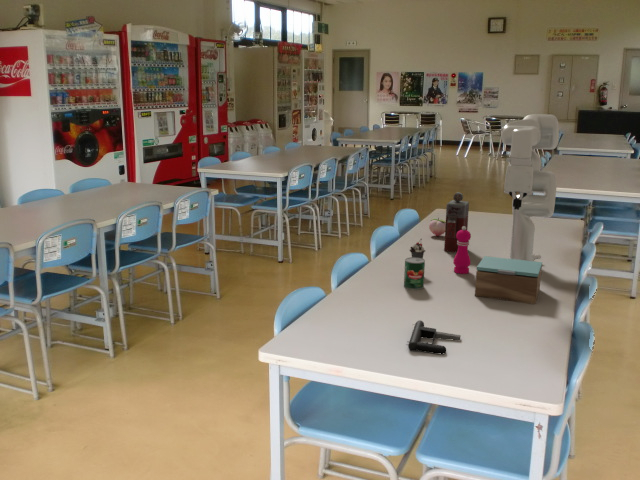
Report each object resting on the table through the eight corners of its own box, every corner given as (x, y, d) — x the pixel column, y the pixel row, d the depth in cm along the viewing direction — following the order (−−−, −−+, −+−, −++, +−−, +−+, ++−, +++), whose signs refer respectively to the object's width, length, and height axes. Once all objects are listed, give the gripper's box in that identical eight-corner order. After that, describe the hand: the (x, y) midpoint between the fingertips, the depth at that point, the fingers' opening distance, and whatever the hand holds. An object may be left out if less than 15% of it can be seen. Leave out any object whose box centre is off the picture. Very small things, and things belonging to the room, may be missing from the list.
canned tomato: (411, 290, 250) (412, 263, 247) (399, 285, 257) (400, 258, 254) (427, 287, 254) (429, 261, 251) (416, 282, 260) (417, 256, 258)
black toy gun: (462, 326, 209) (412, 318, 213) (458, 350, 190) (404, 341, 194) (460, 335, 210) (411, 327, 214) (457, 361, 191) (403, 351, 195)
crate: (482, 282, 260) (484, 259, 258) (539, 289, 252) (541, 265, 249) (474, 296, 244) (476, 271, 242) (535, 304, 236) (537, 278, 233)
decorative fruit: (449, 235, 338) (450, 217, 335) (443, 238, 331) (444, 219, 328) (432, 233, 342) (433, 215, 340) (426, 236, 336) (427, 217, 333)
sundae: (425, 271, 274) (427, 237, 271) (423, 276, 268) (424, 241, 264) (410, 270, 276) (411, 236, 273) (407, 274, 270) (408, 240, 267)
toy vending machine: (442, 252, 305) (445, 194, 298) (448, 246, 315) (451, 190, 308) (461, 254, 302) (465, 195, 295) (466, 248, 312) (469, 191, 305)
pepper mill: (470, 274, 270) (473, 228, 266) (452, 273, 272) (455, 227, 267) (469, 270, 277) (472, 224, 272) (452, 268, 279) (455, 224, 274)
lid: (484, 258, 258) (484, 255, 258) (542, 264, 250) (542, 261, 250) (475, 270, 240) (476, 267, 240) (537, 278, 232) (537, 274, 231)
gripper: (498, 162, 242) (495, 209, 247) (540, 164, 237) (536, 212, 242) (501, 159, 249) (498, 205, 254) (542, 161, 243) (538, 208, 248)
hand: (516, 208), depth 248 cm, fingers closed
